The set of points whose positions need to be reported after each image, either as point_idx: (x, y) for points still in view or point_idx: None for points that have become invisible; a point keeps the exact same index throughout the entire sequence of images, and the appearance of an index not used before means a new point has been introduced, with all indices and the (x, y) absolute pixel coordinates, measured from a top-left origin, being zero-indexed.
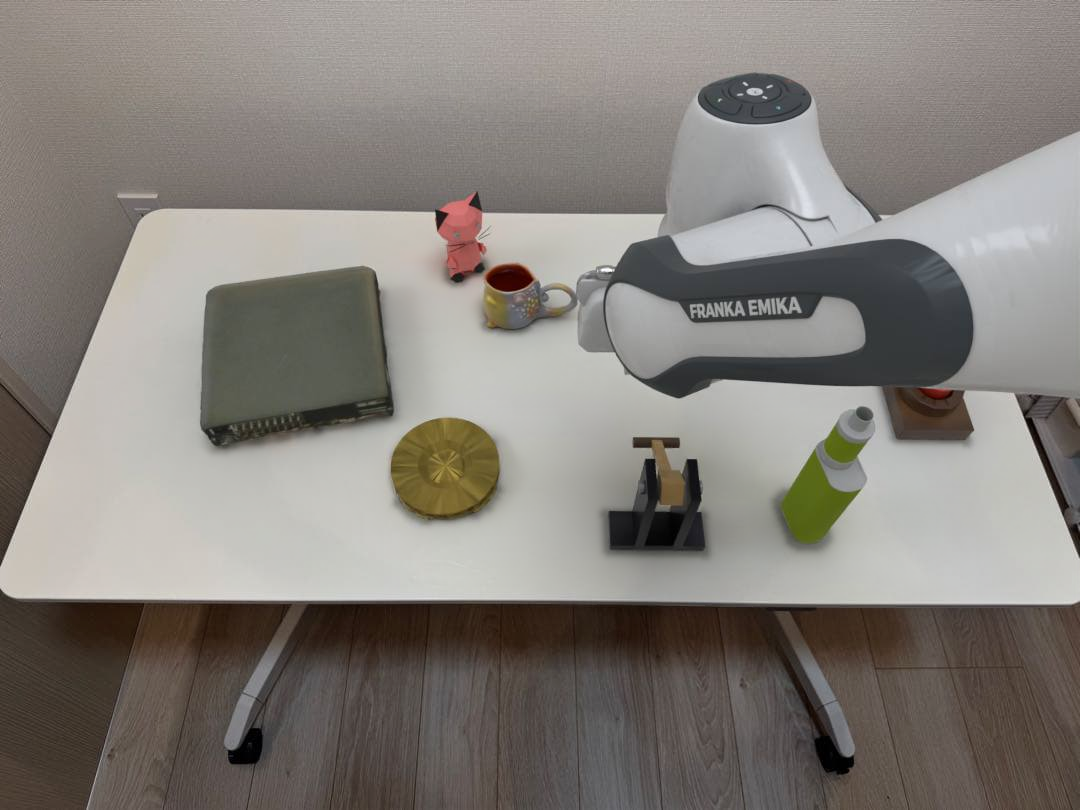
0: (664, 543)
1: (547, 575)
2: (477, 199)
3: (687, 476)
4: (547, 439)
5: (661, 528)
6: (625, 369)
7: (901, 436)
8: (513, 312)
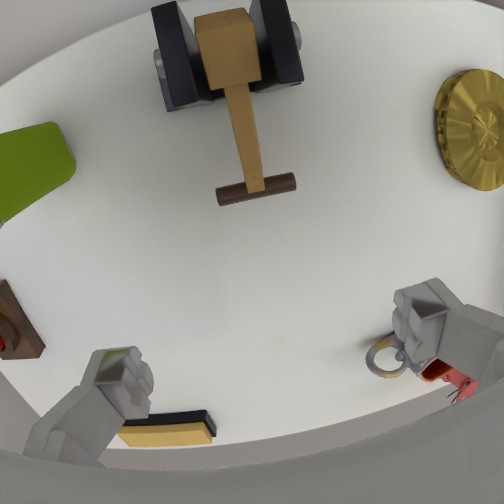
0: None
1: (357, 2)
2: None
3: (191, 62)
4: (387, 184)
5: None
6: (451, 292)
7: (1, 282)
8: None
